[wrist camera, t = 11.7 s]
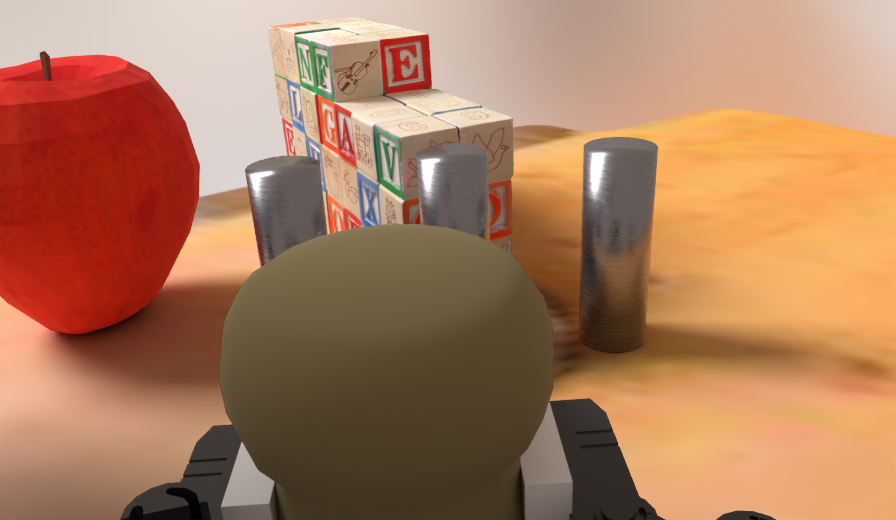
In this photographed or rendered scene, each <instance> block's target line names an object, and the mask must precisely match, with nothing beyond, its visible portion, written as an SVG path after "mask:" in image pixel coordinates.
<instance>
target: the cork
mask: <svg viewBox="0 0 896 520" xmlns="http://www.w3.org/2000/svg"><path fill="white" fill-rule="evenodd" d="M553 370H554V348H553V328H552V325H551V321H550V317H549V314H548V310H547V306H546V303H545V299H544V297H543V295H542V294H541V293H540V291H539V290H538V288H537V287H536V285H535V284H534V282H533V281H532V280H531V278H530V277H529V275H528V274H527V272H526V271H525V270H524V268H523V267H522V266H521V264H520V263H519V262H518V260H517V259H516V258H515V257H514V255H513V254H511V253H509V252H507V251H506V250H504V249H502V248H500V247H499V246H497V245H495V244H493V243H491V242H490V241H487V240H485V239H483V238H480V237H478V236H476V235H473V234H469V233H465V232H462V231H458V230H455V229H451V228H447V227H438V226H429V225H420V224H384V225H376V226H368V227H360V228H352V229H347V230H343V231H339V232H335V233H331V234H327V235H323V236H318V237H316V238H313V239H311V240H308V241H306V242H303V243H301V244H299V245H296V246H294V247H291V248H289V249H288V250H286V251H285V252H283V253H282V254H280V255H279V256H277V257H276V258H274V259H273V260H271V261H270V262H268V263H267V264H265V265H264V266H262V267H261V268H259V269H258V270H256V271H255V272H253V273H252V274H251V276H250V277H249V278H248V279H247V281H246V282H245V283H244V285H243V286H242V287H241V288H240V290H239V291H238V292H237V295H236V297H235V299H234V301H233V303H232V305H231V307H230V310H229V312H228V314H227V316H226V318H225V320H224V328H223V338H222V348H221V360H220V372H219V383H220V387H221V392H222V396H223V401H224V405H225V410H226V414H227V415H228V417H229V419H230V421H231V423H232V425H233V426H234V428H235V430H236V432H237V434H238V435H239V437H240V439H241V441H242V443H243V445H244V446H245V448H246V450H247V452H248V453H249V455H250V457H251V459H252V460H253V462H254V464H255V466H256V468H257V469H258V471H260V472H261V473H263V474H264V475H266V476H267V477H269V478H270V479H272V480H273V481H274V482H276V507H277V517H278V520H524V517H523V497H522V477H521V464H520V458H521V456H522V455H523V454H524V453H525V451H526V450H527V449H528V448H529V446H530V444H531V442H532V440H533V438H534V436H535V435H536V433H537V431H538V429H539V427H540V425H541V423H542V421H543V419H544V416H545V413H546V409H547V406H548V403H549V400H550V396H551V393H552V390H553Z"/></svg>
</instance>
